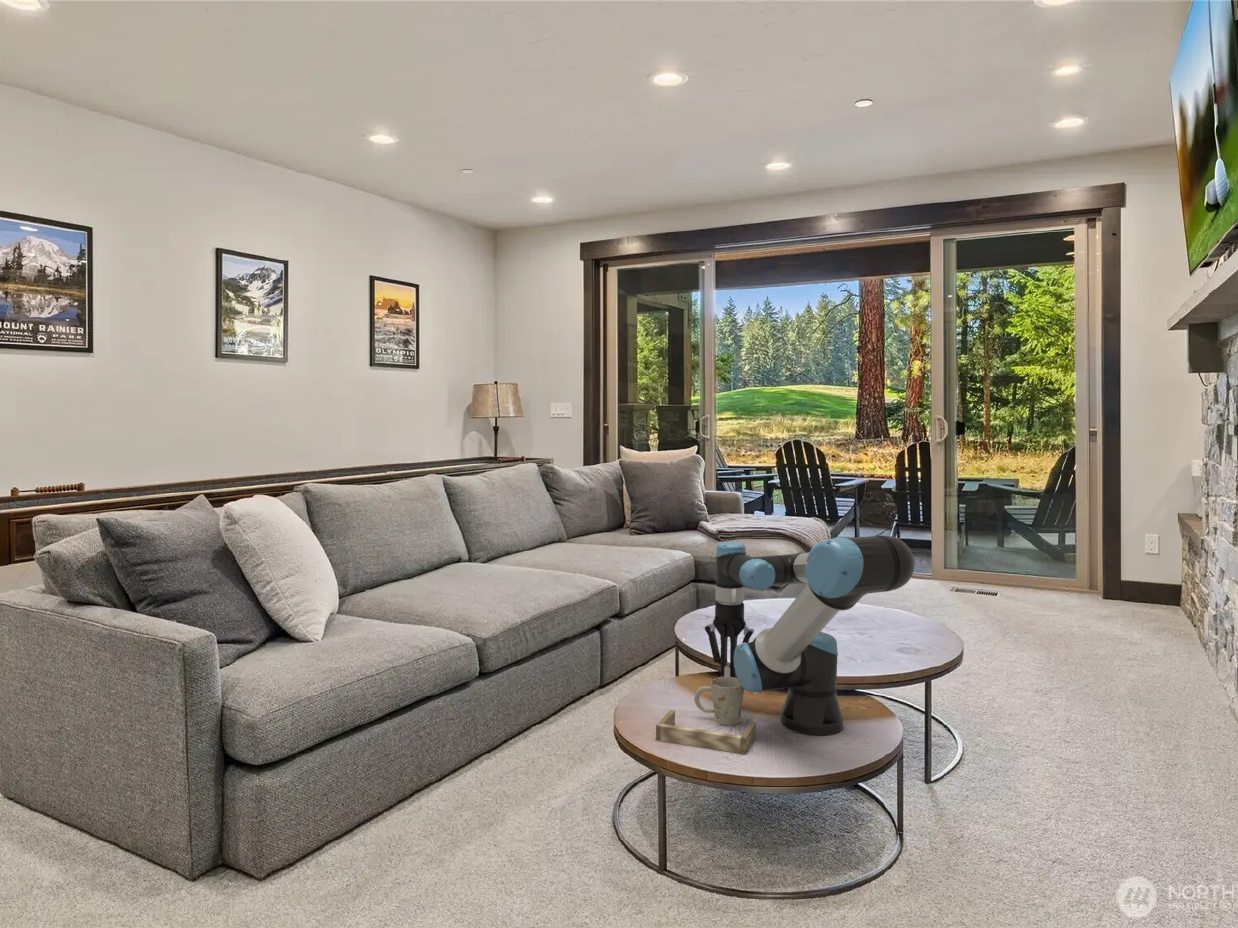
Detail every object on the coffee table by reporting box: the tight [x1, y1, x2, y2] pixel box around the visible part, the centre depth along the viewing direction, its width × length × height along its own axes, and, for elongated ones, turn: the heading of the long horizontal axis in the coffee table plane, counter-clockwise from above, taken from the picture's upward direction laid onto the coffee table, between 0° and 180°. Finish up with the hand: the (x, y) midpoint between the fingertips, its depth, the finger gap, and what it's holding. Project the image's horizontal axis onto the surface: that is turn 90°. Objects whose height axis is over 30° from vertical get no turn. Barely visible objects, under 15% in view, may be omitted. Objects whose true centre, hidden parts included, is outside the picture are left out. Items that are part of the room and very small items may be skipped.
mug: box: [693, 676, 745, 726], centre depth 204 cm, size 8×13×10 cm, turn 78°
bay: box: [655, 709, 757, 755], centre depth 193 cm, size 21×11×4 cm, turn 68°
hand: (728, 689), depth 213 cm, fingers closed
